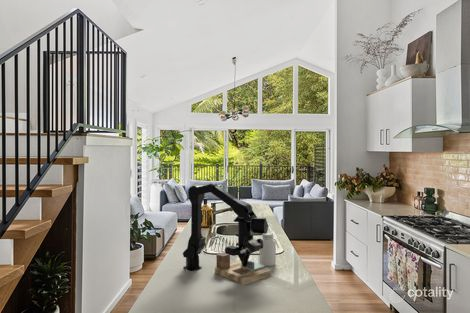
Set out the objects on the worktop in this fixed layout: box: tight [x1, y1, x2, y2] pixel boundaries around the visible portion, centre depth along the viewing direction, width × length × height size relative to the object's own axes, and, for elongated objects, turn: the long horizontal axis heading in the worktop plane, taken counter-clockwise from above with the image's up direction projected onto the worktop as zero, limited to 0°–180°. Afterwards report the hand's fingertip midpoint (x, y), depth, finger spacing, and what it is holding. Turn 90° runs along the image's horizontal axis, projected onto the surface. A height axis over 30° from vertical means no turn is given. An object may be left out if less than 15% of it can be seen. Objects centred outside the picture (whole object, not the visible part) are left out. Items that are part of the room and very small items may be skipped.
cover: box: [240, 260, 266, 271], centre depth 167 cm, size 8×8×3 cm
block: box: [215, 251, 231, 269], centre depth 167 cm, size 4×4×6 cm
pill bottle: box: [259, 232, 277, 267], centre depth 179 cm, size 8×8×15 cm
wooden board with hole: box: [214, 259, 272, 286], centre depth 165 cm, size 20×16×2 cm
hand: (244, 266), depth 163 cm, fingers closed
